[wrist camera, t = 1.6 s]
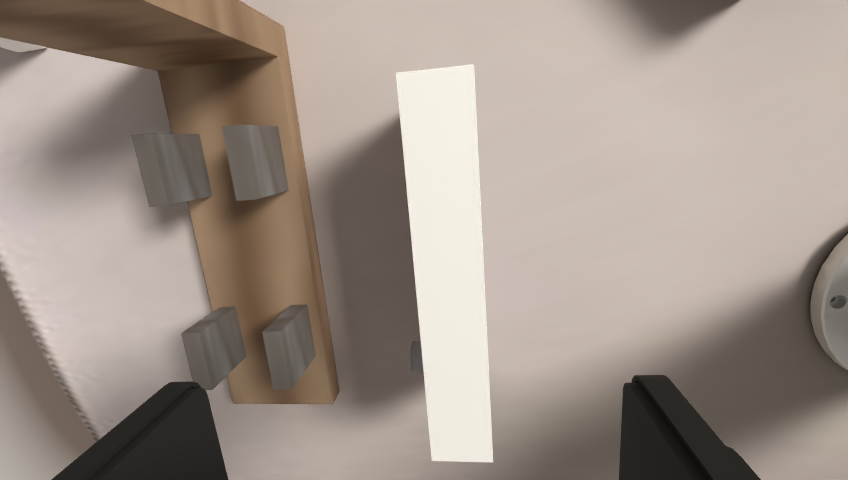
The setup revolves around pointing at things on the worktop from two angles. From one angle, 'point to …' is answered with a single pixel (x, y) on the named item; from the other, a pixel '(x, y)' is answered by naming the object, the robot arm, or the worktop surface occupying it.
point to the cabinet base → (220, 178)
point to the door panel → (447, 258)
